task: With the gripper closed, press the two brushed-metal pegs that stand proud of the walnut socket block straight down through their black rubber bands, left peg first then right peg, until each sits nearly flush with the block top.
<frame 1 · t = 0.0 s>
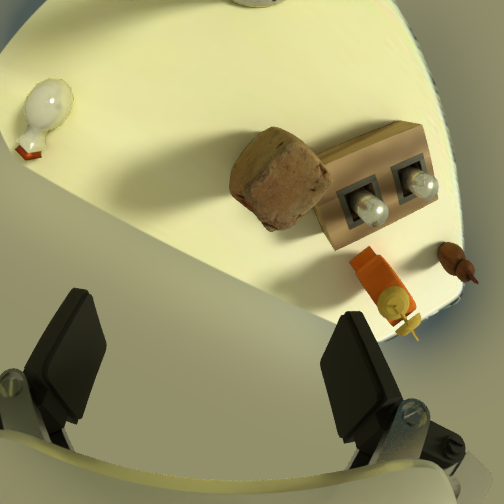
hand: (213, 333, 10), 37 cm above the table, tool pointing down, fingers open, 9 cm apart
block: (264, 159, 43), on the table
wooden figurine: (442, 249, 54), on the table
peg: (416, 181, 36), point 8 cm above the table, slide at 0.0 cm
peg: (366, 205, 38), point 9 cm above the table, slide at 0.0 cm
potion bottle: (56, 116, 35), on the table
alarm clock: (370, 267, 54), on the table
socket block: (363, 175, 44), on the table
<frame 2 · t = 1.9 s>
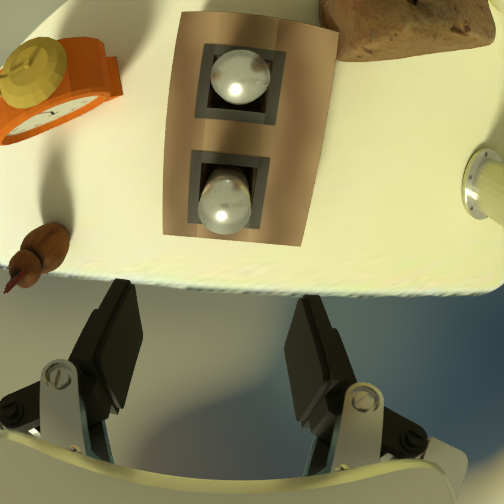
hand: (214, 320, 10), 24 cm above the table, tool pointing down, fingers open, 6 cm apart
block: (345, 26, 22), on the table
wooden figurine: (59, 234, 33), on the table
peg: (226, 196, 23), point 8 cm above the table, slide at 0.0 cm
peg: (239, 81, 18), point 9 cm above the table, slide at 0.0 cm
alarm clock: (85, 92, 24), on the table
socket block: (243, 124, 28), on the table
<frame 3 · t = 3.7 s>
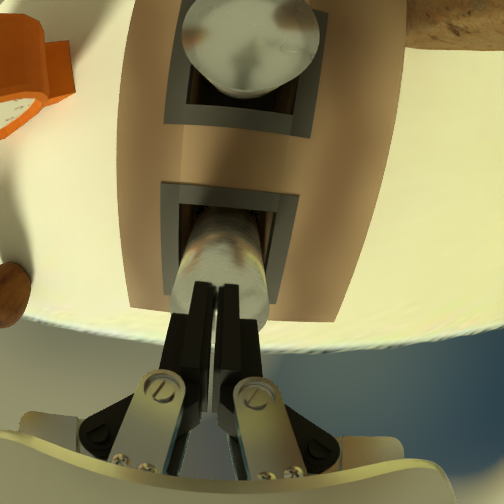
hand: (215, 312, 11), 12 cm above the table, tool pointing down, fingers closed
block: (392, 0, 12), on the table
wooden figurine: (19, 274, 23), on the table
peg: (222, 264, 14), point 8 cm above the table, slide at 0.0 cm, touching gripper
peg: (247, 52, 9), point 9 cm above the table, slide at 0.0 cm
alarm clock: (32, 93, 14), on the table
socket block: (250, 130, 18), on the table
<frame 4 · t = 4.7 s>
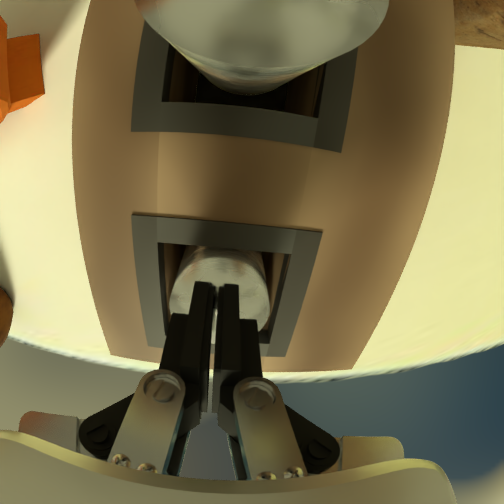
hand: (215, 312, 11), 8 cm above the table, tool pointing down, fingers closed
wooden figurine: (1, 295, 20), on the table
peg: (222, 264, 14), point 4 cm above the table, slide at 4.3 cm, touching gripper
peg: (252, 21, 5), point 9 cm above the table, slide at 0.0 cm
alarm clock: (1, 96, 11), on the table
socket block: (253, 135, 15), on the table
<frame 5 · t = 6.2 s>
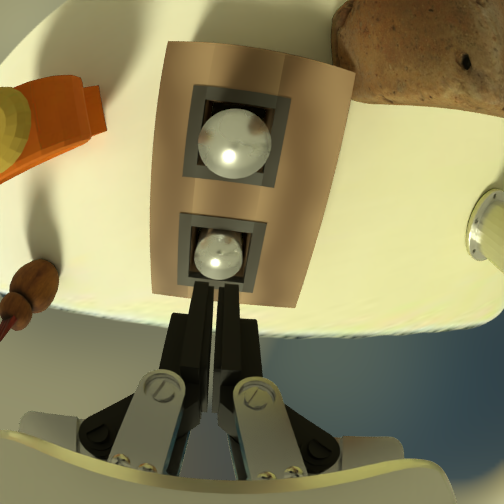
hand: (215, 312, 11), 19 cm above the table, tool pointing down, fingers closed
block: (359, 56, 21), on the table
wooden figurine: (48, 269, 31), on the table
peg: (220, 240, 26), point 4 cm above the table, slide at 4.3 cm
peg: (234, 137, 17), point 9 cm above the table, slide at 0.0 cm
alarm clock: (67, 124, 22), on the table
socket block: (239, 169, 26), on the table
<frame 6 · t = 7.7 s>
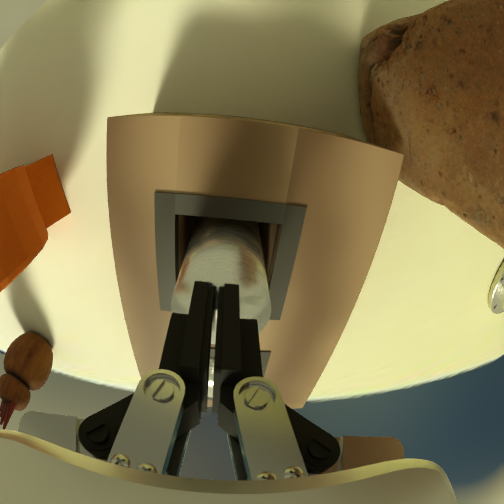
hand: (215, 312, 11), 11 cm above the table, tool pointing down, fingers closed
block: (393, 98, 16), on the table
wooden figurine: (40, 340, 27), on the table
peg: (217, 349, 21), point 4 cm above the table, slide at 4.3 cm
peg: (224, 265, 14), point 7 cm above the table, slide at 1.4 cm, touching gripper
alarm clock: (28, 201, 18), on the table
socket block: (236, 261, 22), on the table
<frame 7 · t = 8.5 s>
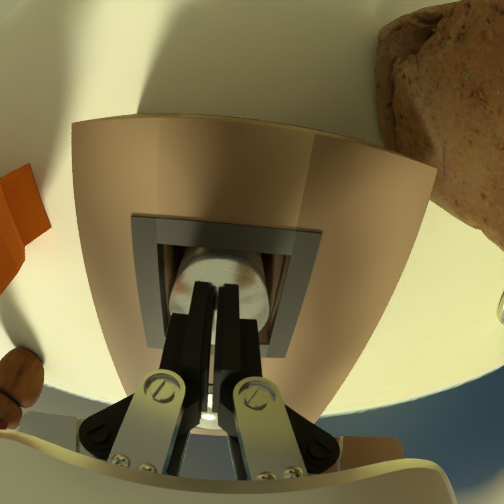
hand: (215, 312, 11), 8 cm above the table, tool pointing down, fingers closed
block: (413, 98, 13), on the table
wooden figurine: (31, 355, 25), on the table
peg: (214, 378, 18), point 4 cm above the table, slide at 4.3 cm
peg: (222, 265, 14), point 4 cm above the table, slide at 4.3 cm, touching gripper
alarm clock: (8, 213, 16), on the table
socket block: (234, 282, 19), on the table
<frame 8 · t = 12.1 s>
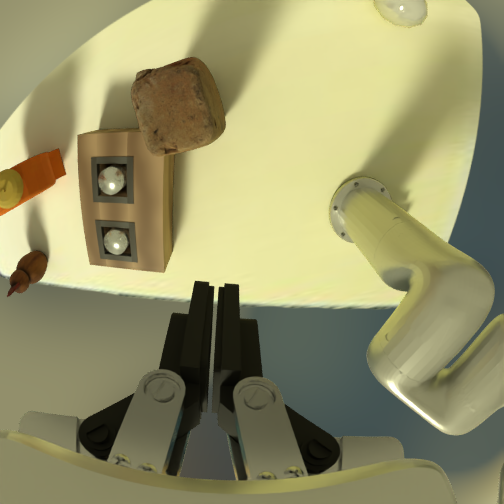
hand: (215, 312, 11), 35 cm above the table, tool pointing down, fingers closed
block: (198, 104, 37), on the table
wooden figurine: (41, 257, 48), on the table
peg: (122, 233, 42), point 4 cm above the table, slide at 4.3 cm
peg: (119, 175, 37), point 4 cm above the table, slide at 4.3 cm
alarm clock: (45, 170, 39), on the table
socket block: (134, 191, 43), on the table
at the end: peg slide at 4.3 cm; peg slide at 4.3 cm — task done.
